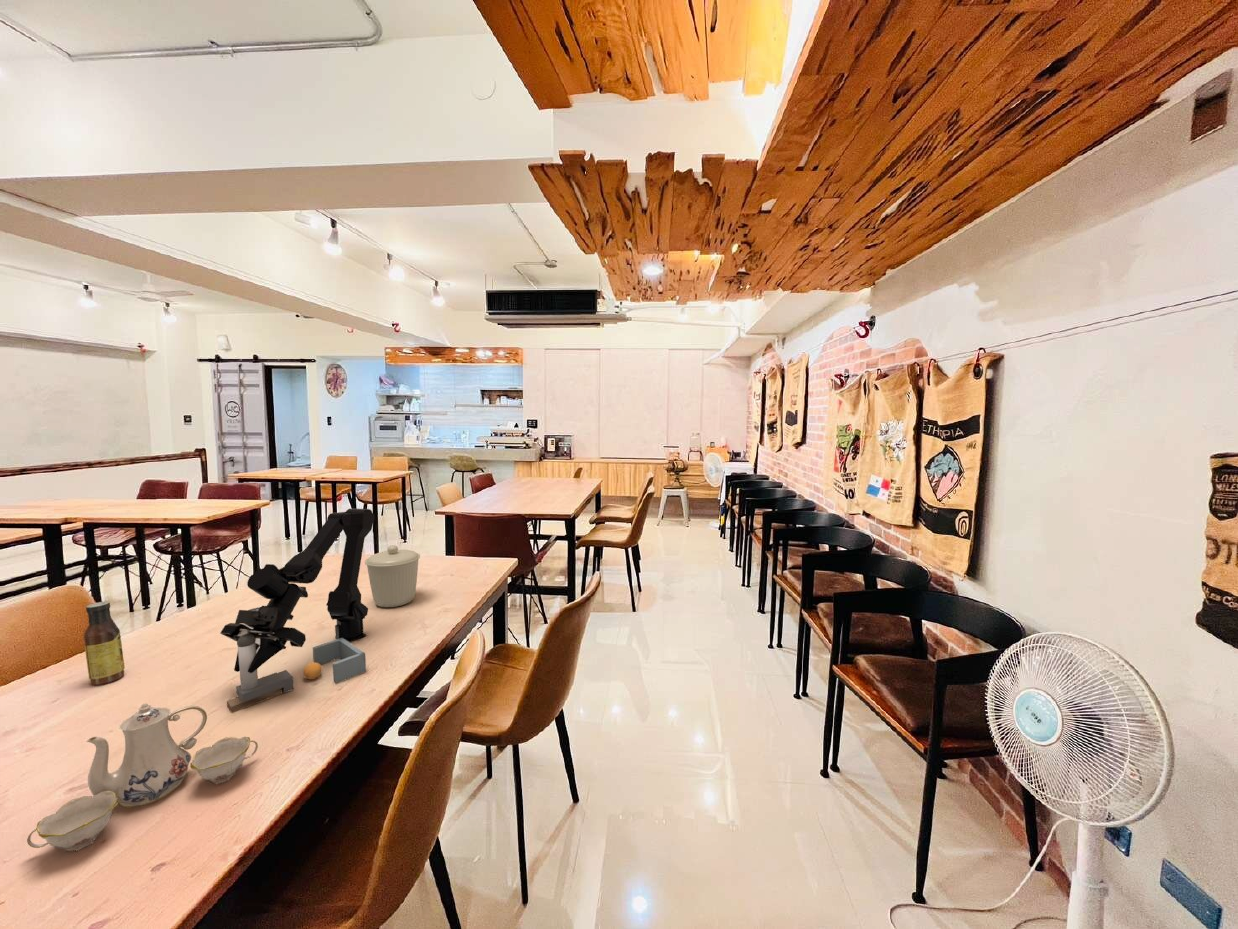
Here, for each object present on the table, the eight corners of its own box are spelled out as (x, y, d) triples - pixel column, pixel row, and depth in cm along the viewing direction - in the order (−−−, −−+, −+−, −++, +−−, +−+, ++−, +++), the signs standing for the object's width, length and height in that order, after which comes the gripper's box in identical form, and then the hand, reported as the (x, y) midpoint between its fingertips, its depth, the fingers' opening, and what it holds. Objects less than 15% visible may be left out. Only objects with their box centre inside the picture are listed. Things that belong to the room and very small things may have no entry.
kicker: (286, 682, 119) (282, 620, 118) (293, 689, 116) (289, 625, 115) (237, 700, 112) (232, 634, 110) (243, 708, 108) (238, 640, 107)
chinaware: (39, 896, 68) (28, 794, 65) (20, 830, 77) (9, 737, 74) (267, 774, 91) (265, 695, 89) (232, 734, 100) (230, 661, 97)
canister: (432, 599, 175) (430, 543, 173) (385, 616, 160) (383, 555, 158) (402, 590, 185) (400, 537, 183) (356, 605, 170) (353, 547, 168)
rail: (276, 688, 117) (276, 682, 117) (281, 693, 115) (281, 688, 115) (227, 706, 110) (226, 700, 109) (231, 712, 107) (231, 706, 107)
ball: (318, 672, 125) (317, 657, 124) (324, 677, 122) (323, 662, 122) (301, 678, 121) (300, 664, 121) (307, 684, 119) (306, 669, 119)
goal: (343, 654, 134) (342, 637, 134) (366, 671, 125) (365, 653, 125) (313, 665, 128) (312, 647, 128) (335, 683, 119) (334, 664, 119)
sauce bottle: (131, 675, 123) (123, 601, 121) (98, 688, 117) (89, 610, 115) (115, 671, 125) (108, 598, 123) (82, 683, 119) (74, 607, 117)
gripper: (224, 591, 115) (180, 657, 105) (293, 595, 112) (254, 664, 102) (256, 609, 123) (217, 672, 113) (320, 614, 120) (287, 679, 110)
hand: (242, 671), depth 109 cm, fingers closed on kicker, 3 cm apart
